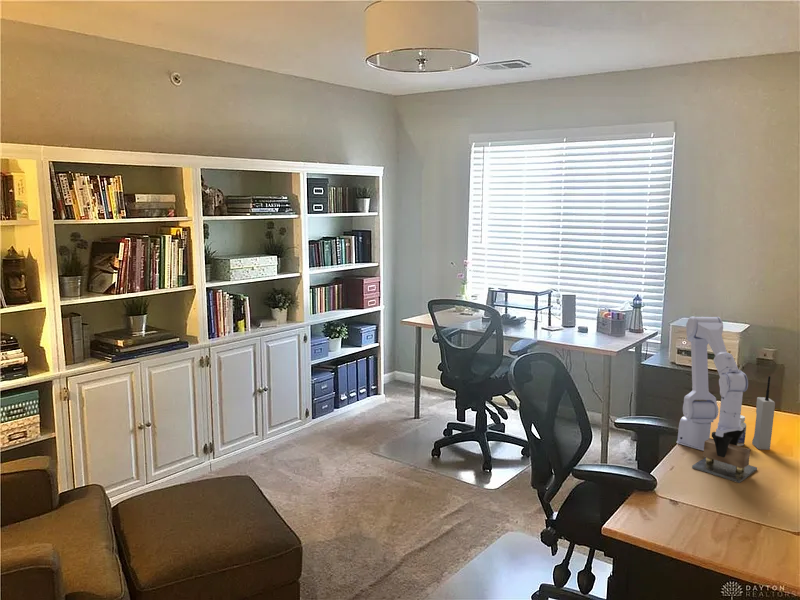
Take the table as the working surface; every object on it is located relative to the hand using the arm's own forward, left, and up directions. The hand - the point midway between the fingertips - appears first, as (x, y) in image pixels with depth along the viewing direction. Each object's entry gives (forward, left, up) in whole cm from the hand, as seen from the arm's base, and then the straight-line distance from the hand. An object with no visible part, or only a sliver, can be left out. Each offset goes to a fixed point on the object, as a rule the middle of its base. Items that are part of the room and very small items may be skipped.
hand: (726, 453), depth 202 cm
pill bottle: (-6, +25, -5) cm, 26 cm away
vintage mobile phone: (+1, +28, -5) cm, 29 cm away
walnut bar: (0, 0, -2) cm, 2 cm away
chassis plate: (0, 0, -5) cm, 5 cm away
